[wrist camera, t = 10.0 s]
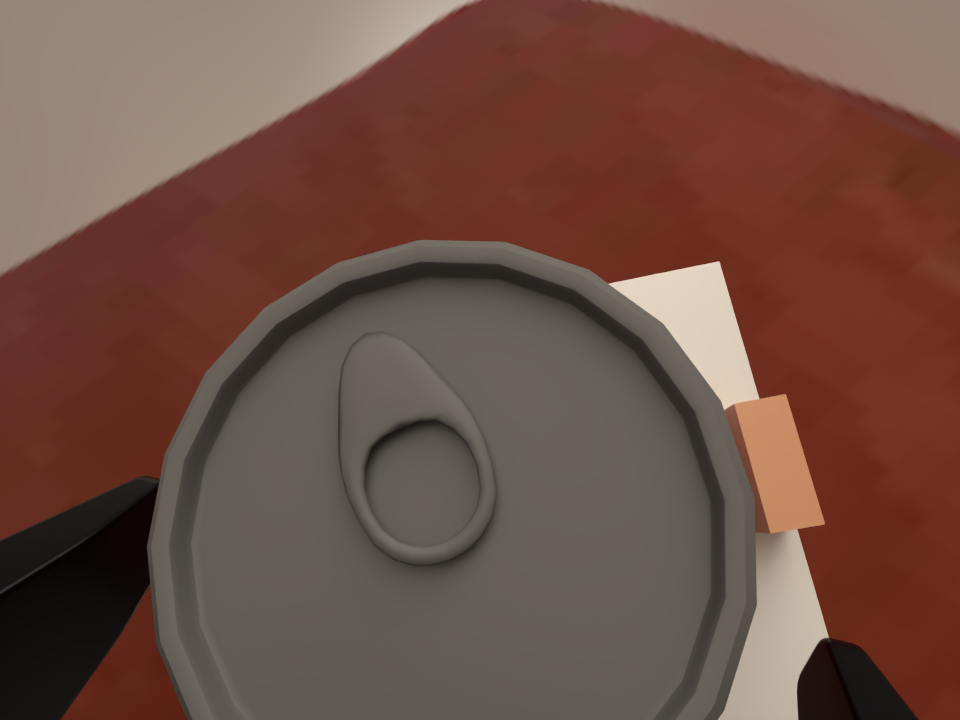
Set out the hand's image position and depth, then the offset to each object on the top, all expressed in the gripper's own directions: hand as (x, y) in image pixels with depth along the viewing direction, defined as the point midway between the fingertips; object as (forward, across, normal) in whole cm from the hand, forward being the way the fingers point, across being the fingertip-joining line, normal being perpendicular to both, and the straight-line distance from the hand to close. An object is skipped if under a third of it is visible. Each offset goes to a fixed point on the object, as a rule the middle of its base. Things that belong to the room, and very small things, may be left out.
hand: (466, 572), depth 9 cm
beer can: (+7, 0, +6) cm, 9 cm away
